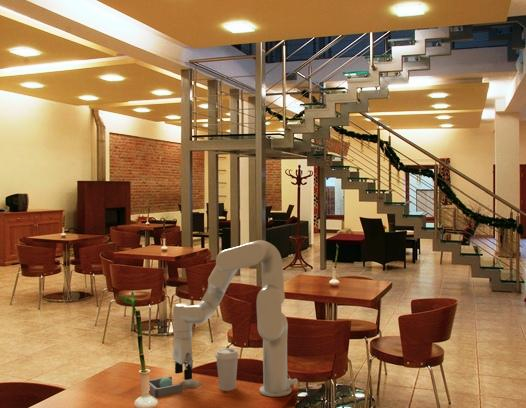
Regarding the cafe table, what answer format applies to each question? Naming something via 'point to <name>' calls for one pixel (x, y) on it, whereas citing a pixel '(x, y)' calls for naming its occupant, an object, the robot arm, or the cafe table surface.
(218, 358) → the coffee cup
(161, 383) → the ball
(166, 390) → the tray
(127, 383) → the cafe table surface
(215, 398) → the cafe table surface
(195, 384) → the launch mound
